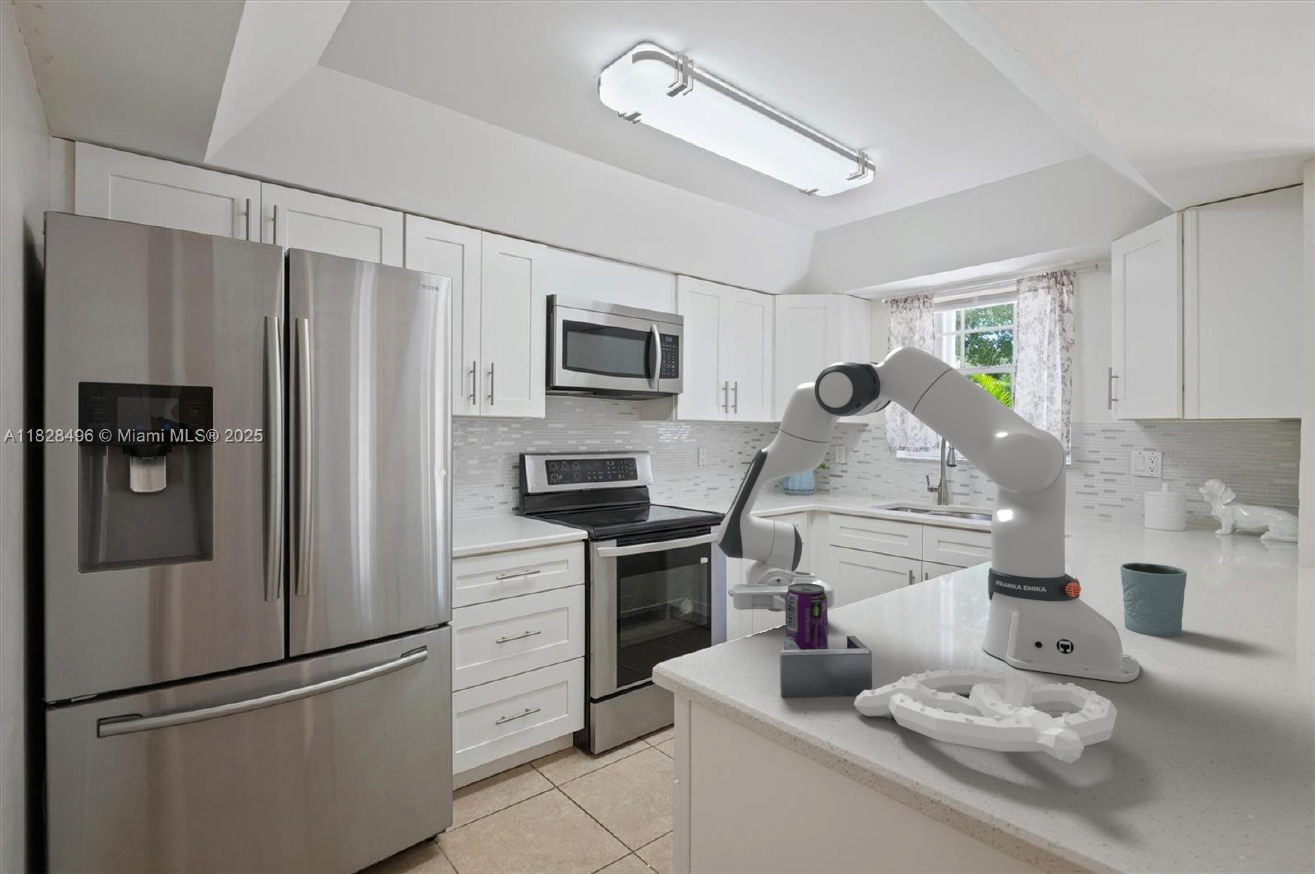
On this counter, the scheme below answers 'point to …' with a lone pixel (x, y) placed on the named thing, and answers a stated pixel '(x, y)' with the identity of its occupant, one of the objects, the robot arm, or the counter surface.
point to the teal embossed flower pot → (1153, 598)
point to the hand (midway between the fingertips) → (790, 606)
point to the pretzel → (994, 711)
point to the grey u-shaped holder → (825, 670)
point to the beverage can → (807, 616)
